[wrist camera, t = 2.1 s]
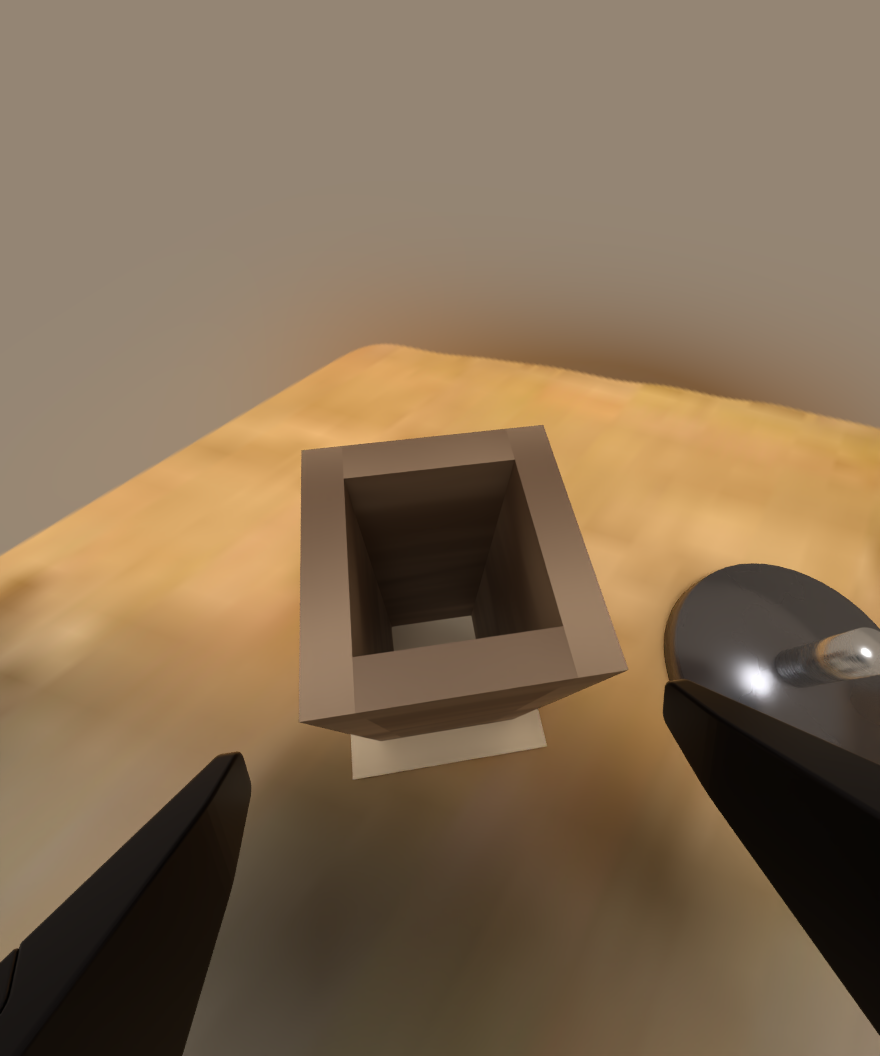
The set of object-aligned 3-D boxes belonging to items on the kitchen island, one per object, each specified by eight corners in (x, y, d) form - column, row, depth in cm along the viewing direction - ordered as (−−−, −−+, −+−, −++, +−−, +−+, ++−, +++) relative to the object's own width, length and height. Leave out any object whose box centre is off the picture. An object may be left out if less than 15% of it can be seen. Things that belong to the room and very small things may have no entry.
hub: (933, 692, 19) (1084, 673, 15) (824, 865, 16) (972, 907, 12) (740, 538, 23) (813, 486, 18) (620, 654, 20) (674, 626, 15)
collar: (512, 719, 18) (628, 669, 7) (380, 741, 17) (298, 722, 7) (486, 595, 20) (543, 425, 10) (371, 611, 20) (301, 450, 9)
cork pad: (544, 746, 18) (547, 746, 17) (354, 779, 17) (352, 779, 17) (503, 573, 22) (504, 569, 21) (346, 594, 21) (344, 590, 20)
